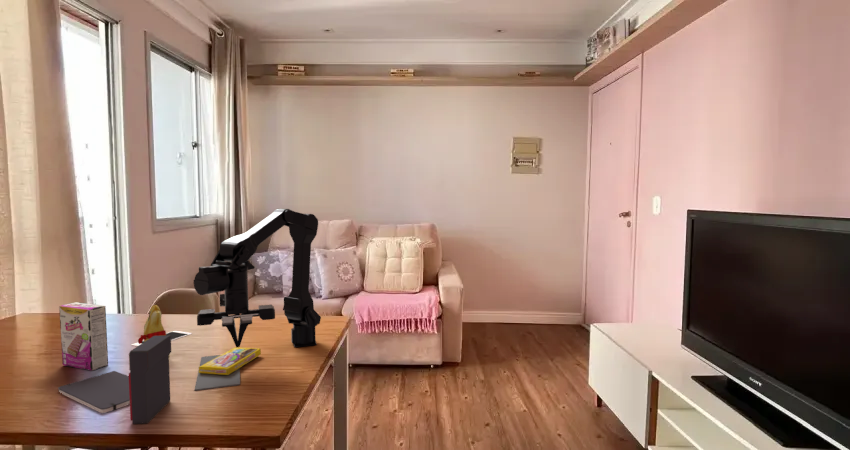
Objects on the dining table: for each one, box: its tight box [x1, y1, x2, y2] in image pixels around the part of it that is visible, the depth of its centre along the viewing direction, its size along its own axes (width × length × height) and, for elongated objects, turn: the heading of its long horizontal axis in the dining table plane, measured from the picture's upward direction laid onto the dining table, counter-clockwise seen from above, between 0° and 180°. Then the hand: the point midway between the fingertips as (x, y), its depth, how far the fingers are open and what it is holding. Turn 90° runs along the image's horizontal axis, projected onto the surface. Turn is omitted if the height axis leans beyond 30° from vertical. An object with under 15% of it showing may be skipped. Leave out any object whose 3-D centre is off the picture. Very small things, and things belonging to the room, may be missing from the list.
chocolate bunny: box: [137, 304, 170, 358], centre depth 137 cm, size 7×11×15 cm, turn 45°
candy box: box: [198, 346, 262, 375], centre depth 132 cm, size 16×2×8 cm
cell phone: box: [130, 330, 193, 347], centre depth 155 cm, size 8×16×1 cm, turn 159°
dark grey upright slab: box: [128, 335, 172, 425], centre depth 104 cm, size 11×4×15 cm, turn 5°
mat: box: [193, 354, 241, 392], centre depth 129 cm, size 10×24×1 cm, turn 21°
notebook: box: [57, 370, 130, 414], centre depth 115 cm, size 13×2×21 cm
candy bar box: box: [58, 301, 109, 372], centre depth 131 cm, size 11×5×16 cm, turn 71°
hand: (237, 346), depth 130 cm, fingers closed
